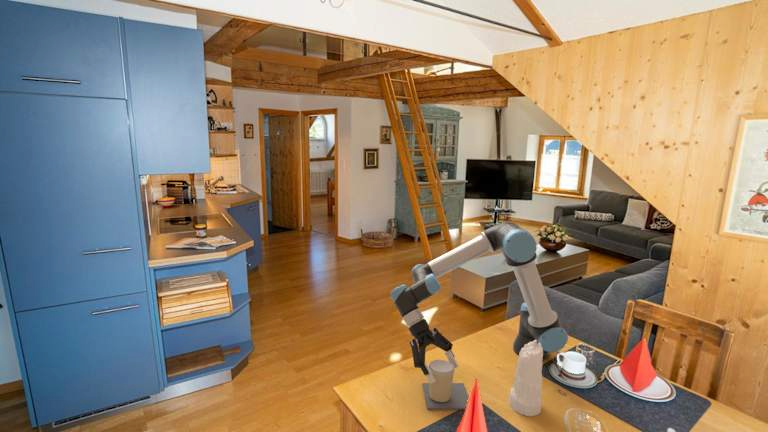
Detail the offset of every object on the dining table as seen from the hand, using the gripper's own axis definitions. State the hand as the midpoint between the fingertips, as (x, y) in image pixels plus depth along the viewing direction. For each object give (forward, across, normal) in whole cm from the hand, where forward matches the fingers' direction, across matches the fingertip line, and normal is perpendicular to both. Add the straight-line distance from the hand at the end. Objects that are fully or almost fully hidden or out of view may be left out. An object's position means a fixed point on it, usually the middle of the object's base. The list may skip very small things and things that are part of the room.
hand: (445, 374), depth 146 cm
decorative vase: (+23, -18, +10) cm, 31 cm away
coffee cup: (+6, +3, -6) cm, 8 cm away
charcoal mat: (+7, 0, -6) cm, 9 cm away
